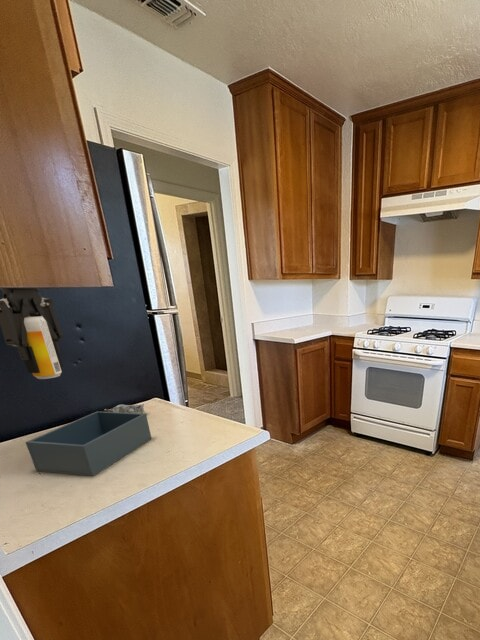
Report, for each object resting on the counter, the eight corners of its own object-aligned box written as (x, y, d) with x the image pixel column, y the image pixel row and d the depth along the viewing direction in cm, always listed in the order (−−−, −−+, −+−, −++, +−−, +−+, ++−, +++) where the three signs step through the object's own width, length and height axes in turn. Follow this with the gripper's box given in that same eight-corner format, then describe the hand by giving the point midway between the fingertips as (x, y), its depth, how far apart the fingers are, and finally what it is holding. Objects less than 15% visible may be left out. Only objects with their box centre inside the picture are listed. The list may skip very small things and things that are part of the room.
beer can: (42, 374, 94) (22, 315, 88) (67, 373, 95) (49, 315, 89) (29, 380, 89) (7, 317, 83) (55, 378, 90) (35, 317, 84)
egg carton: (104, 421, 115) (101, 409, 113) (118, 413, 122) (115, 402, 120) (136, 421, 114) (133, 409, 112) (148, 413, 121) (145, 401, 119)
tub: (36, 471, 84) (25, 442, 81) (104, 435, 103) (97, 411, 100) (93, 476, 81) (83, 446, 78) (151, 438, 101) (146, 413, 98)
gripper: (-16, 270, 73) (23, 379, 82) (63, 272, 90) (87, 362, 99) (-45, 270, 74) (-4, 378, 83) (38, 273, 92) (65, 361, 101)
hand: (46, 369), depth 91 cm, fingers closed on beer can, 6 cm apart
